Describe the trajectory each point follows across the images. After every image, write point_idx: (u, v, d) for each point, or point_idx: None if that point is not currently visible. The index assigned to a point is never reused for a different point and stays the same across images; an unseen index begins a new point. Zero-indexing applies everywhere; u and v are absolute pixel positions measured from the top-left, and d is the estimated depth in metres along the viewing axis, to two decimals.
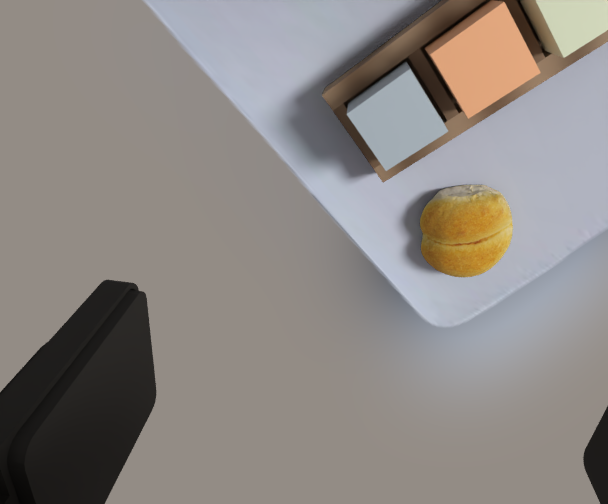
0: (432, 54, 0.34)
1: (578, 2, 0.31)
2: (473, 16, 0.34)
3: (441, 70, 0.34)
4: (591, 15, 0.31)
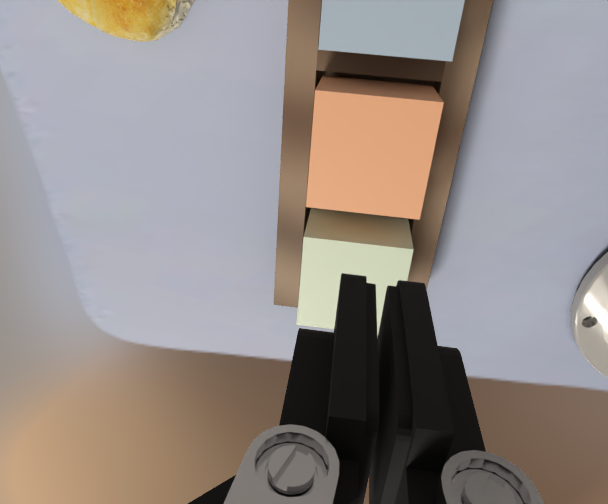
0: (440, 105, 0.20)
1: None
2: None
3: (410, 101, 0.20)
4: (328, 281, 0.25)
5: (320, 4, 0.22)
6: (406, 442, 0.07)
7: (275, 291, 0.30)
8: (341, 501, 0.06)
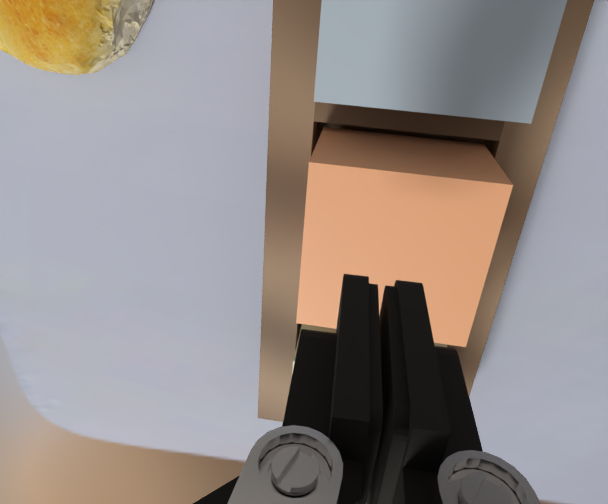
0: (508, 188, 0.13)
1: None
2: None
3: (459, 182, 0.13)
4: None
5: None
6: (402, 442, 0.07)
7: (259, 402, 0.22)
8: (345, 502, 0.06)
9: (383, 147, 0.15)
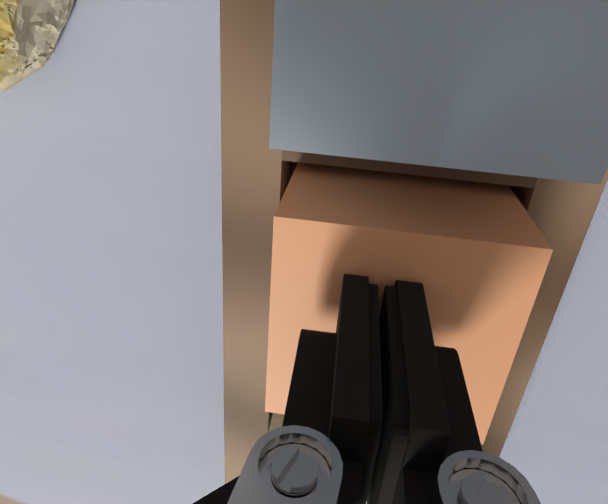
0: (546, 254, 0.09)
1: None
2: None
3: (479, 245, 0.09)
4: None
5: None
6: (403, 442, 0.07)
7: None
8: (344, 502, 0.06)
9: (375, 188, 0.11)
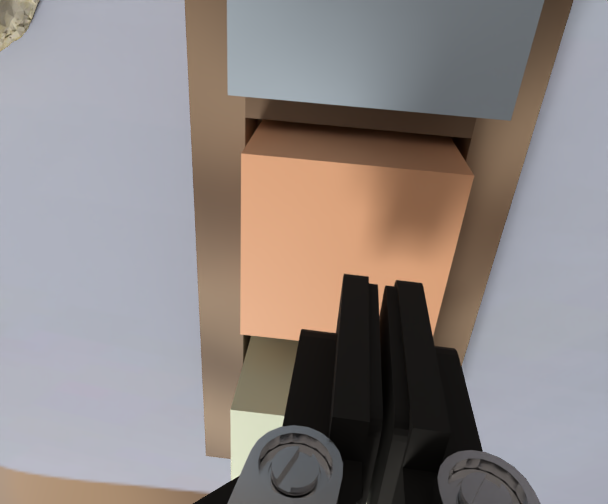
0: (468, 180, 0.11)
1: None
2: None
3: (413, 173, 0.11)
4: None
5: None
6: (402, 442, 0.07)
7: (207, 439, 0.19)
8: (345, 502, 0.06)
9: (331, 134, 0.13)
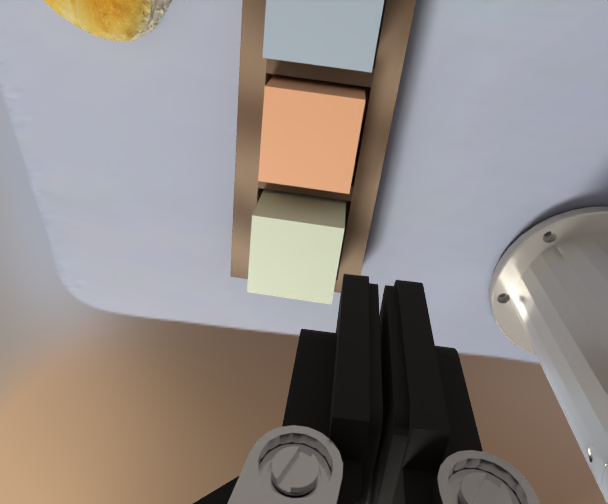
0: (363, 101, 0.26)
1: (292, 252, 0.29)
2: None
3: (339, 98, 0.26)
4: (273, 254, 0.29)
5: None
6: (403, 442, 0.07)
7: (231, 264, 0.34)
8: (345, 502, 0.06)
9: (306, 83, 0.28)
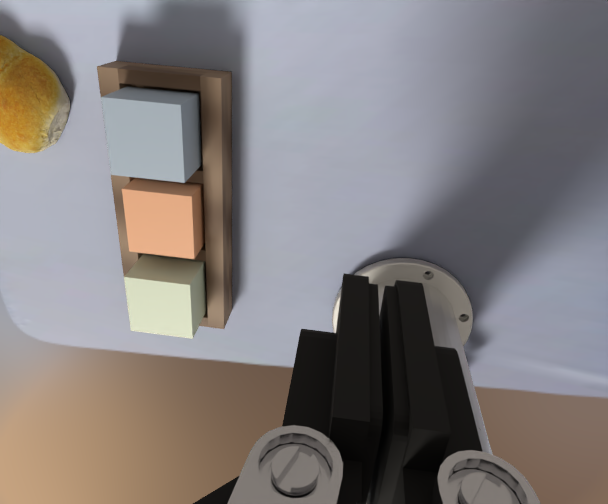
0: (190, 198, 0.36)
1: (157, 302, 0.40)
2: (202, 227, 0.40)
3: (173, 195, 0.36)
4: (144, 303, 0.40)
5: None
6: (403, 442, 0.07)
7: None
8: (344, 502, 0.06)
9: (159, 181, 0.38)
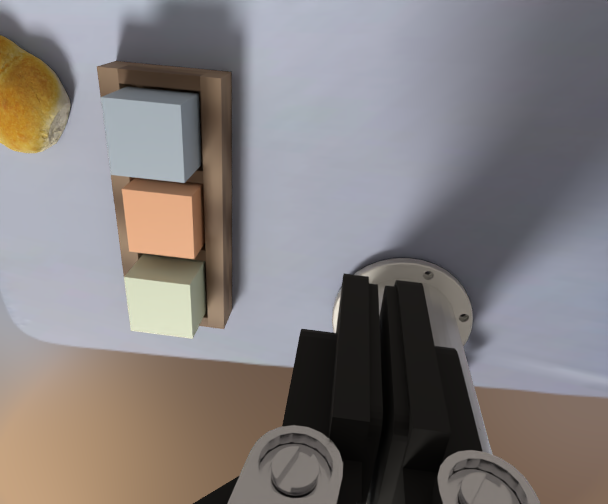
0: (190, 198, 0.36)
1: (157, 302, 0.40)
2: (202, 227, 0.40)
3: (173, 195, 0.36)
4: (144, 303, 0.40)
5: None
6: (403, 442, 0.07)
7: None
8: (345, 502, 0.06)
9: (159, 181, 0.38)
